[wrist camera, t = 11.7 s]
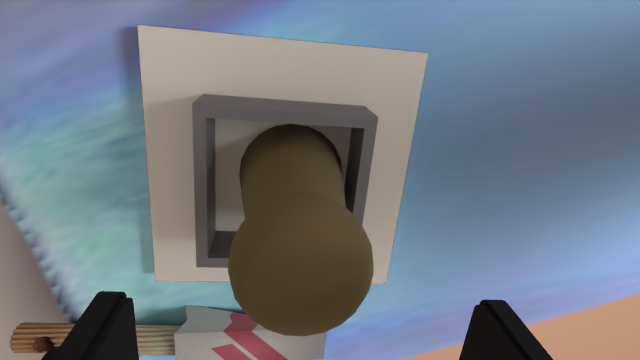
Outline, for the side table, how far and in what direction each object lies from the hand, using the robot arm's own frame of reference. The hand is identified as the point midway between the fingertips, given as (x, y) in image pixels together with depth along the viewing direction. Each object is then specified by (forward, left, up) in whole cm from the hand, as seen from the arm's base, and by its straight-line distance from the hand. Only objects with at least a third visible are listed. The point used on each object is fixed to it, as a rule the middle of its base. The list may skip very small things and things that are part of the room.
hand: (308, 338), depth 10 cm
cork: (0, 0, -13) cm, 13 cm away
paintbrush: (+7, +12, -14) cm, 20 cm away
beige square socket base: (+1, 0, -14) cm, 14 cm away
